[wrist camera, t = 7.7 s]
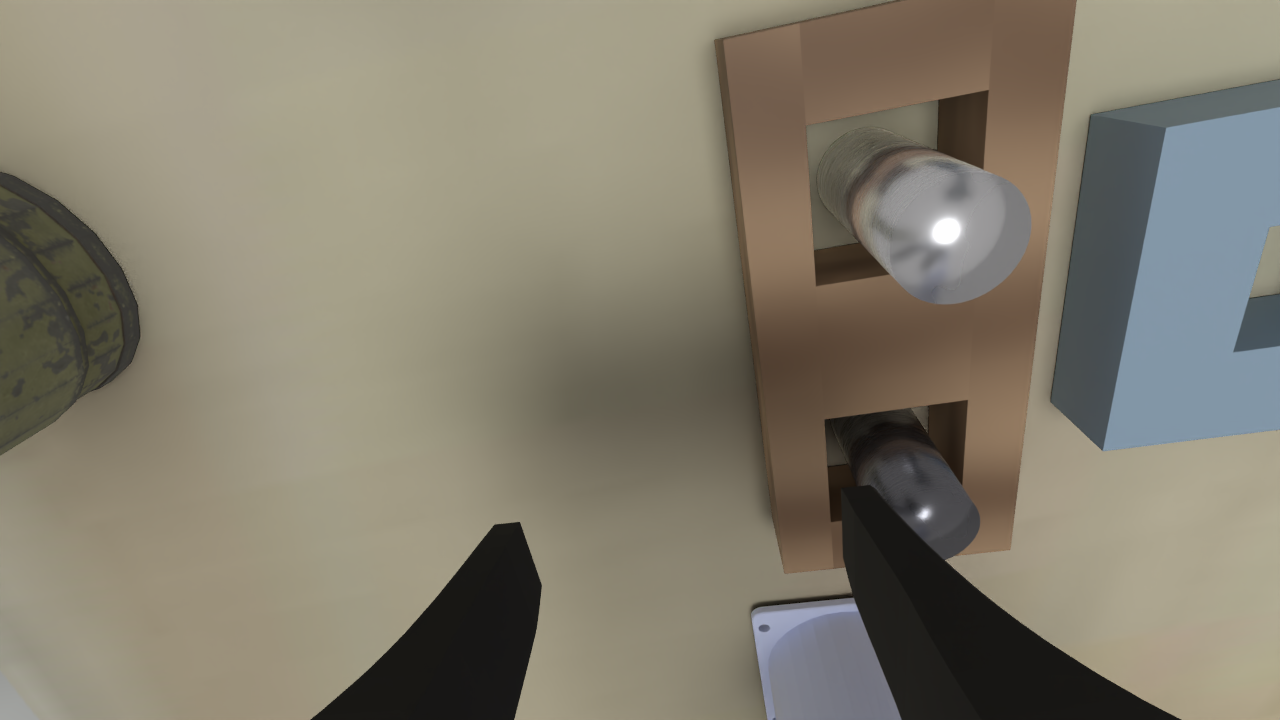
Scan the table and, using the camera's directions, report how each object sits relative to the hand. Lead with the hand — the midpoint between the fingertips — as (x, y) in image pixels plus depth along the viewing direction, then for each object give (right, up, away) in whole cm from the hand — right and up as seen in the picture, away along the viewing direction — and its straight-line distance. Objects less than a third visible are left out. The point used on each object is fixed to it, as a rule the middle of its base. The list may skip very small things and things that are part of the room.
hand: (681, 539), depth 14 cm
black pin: (+8, +2, +9) cm, 12 cm away
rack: (+7, +6, +7) cm, 11 cm away
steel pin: (+6, +10, +5) cm, 13 cm away
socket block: (+18, +8, +6) cm, 20 cm away
